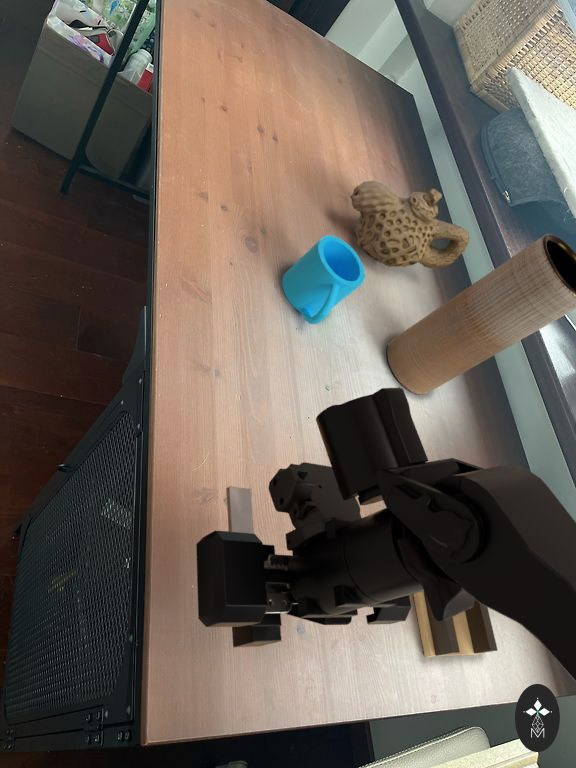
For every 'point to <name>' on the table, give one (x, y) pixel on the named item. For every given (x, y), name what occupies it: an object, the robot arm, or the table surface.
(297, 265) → the mug
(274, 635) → the knife
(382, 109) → the table surface
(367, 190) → the teapot
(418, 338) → the vase
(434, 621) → the rack
